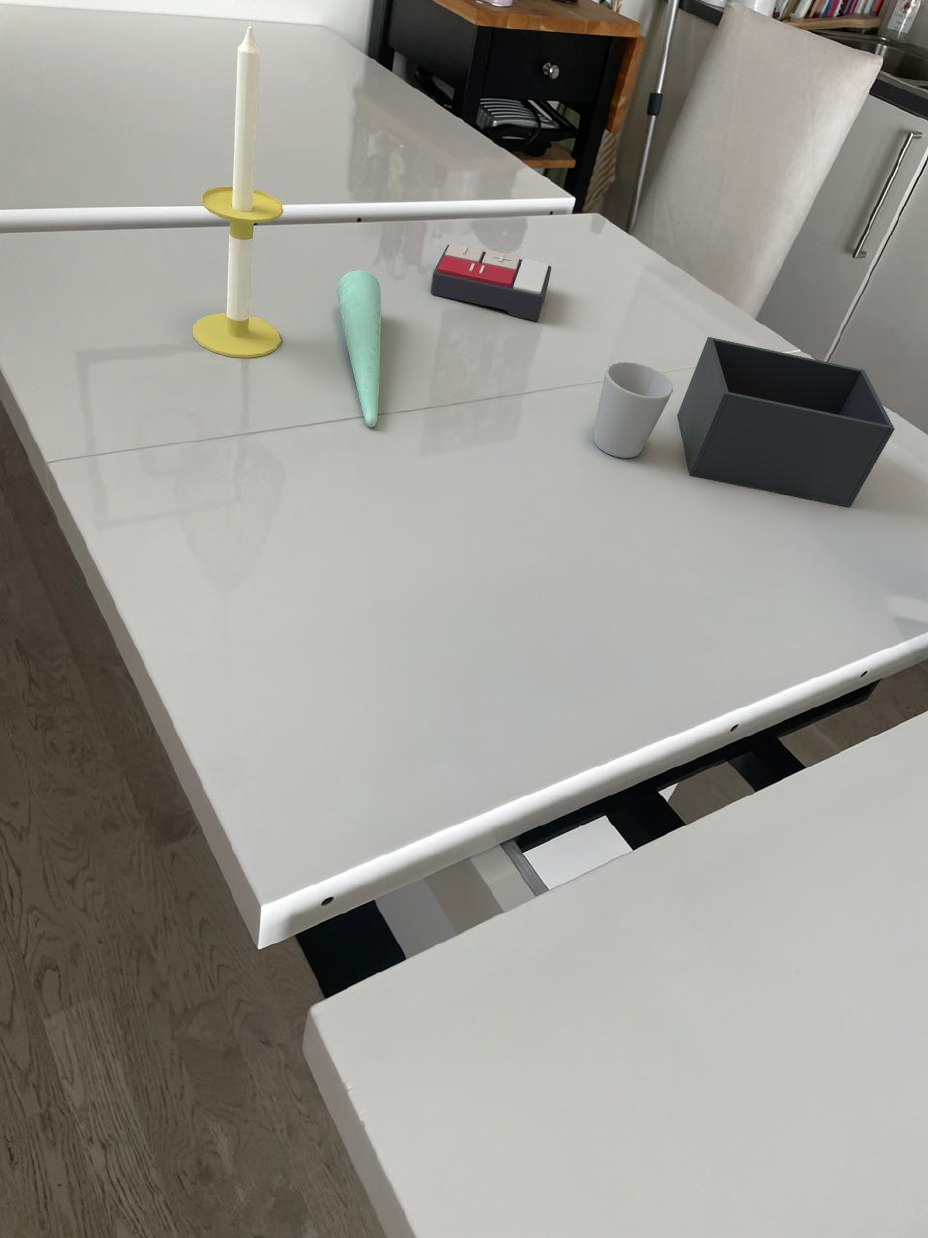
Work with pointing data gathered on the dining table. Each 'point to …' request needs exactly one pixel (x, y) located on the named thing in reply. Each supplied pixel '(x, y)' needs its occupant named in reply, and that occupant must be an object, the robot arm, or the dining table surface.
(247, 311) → the candle
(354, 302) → the long green cone
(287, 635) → the dining table surface
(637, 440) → the cup
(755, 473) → the bin
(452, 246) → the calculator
